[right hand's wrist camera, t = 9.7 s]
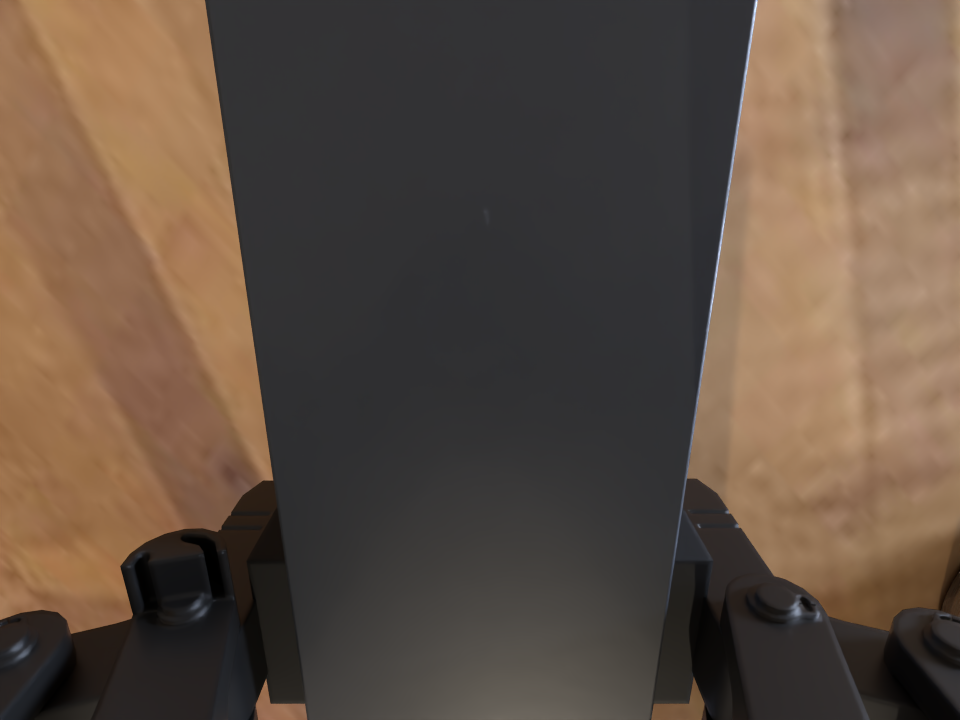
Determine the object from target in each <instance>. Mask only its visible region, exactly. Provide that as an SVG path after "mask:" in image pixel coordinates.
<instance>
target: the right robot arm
mask: <svg viewBox="0 0 960 720" xmlns="http://www.w3.org/2000/svg"><path fill="white" fill-rule="evenodd" d="M120 567H121V571H122V575H123V578H124V582H125V586H126V590H127V594H128V597H129V601H130V605H131V609H132V612H133V617H132V619H130V620H126V621H123V622H120V623H116V624H112V625H108V626H104V627H99V628H95V629H91V630H86V631H82V632H78V633H73V634H71V633H70V630H69V627H68V624H67V620H66V619H65V618H63V617H62V616H61V615H60V614H59V613H58V612H51V611H45V610H38V611H31V612H24V613H20V614H17V615H14V616H11V617H7V618H5V619H2V620H0V720H258V716H257V711H256V702H257V700H258V697H259V695H260V692H261V690H262V687H263V685H264V682H265V680H266V679H267V685H268V691H269V697H270V703H271V704H305V698H304V691H303V684H302V677H301V670H300V663H299V656H298V649H297V642H296V635H295V628H294V621H293V614H292V607H291V600H290V593H289V586H288V579H287V572H286V565H285V558H284V551H283V544H282V537H281V530H280V523H279V516H278V509H277V502H276V495H275V488H274V481H262V482H261V483H259V484H258V485H257V486H255V487H254V488H252V489H251V490H250V491H248V492H247V493H245V494H244V495H243V496H242V497H241V499H240V500H239V502H238V503H237V505H236V506H235V508H234V509H233V511H232V512H231V516H228V518H227V519H226V521H225V522H224V524H223V525H222V529H221V530H219V531H218V532H215V531H211V530H207V529H203V528H201V529H183V530H179V531H175V532H171V533H167V534H164V535H161V536H159V537H157V538H155V539H152V540H150V541H148V542H146V543H144V544H143V545H142V546H140V547H139V548H137V549H136V550H135V551H133V552H132V553H131V554H130V555H129V556H128V557H127V559H126V560H125V561H124V562H123V564H122V565H121V566H120ZM693 677H694V678H695V680H696V683H697V685H698V688H699V690H700V693H701V695H702V698H703V700H704V703H705V705H704V711H703V716H702V720H960V572H959V573H958V575H957V576H956V578H955V579H954V581H953V583H952V584H951V586H950V588H949V590H948V592H947V595H946V597H945V600H944V602H943V606H942V609H941V611H940V610H933V609H926V608H919V607H918V608H912V609H905V610H902V611H901V612H900V613H899V614H897V615H896V616H895V617H894V619H893V622H892V625H891V628H890V631H884V630H880V629H876V628H871V627H867V626H863V625H858V624H854V623H850V622H845V621H842V620H838V619H835V618H832V617H828V616H827V614H826V612H825V611H824V609H823V608H822V606H821V605H820V603H819V602H818V600H816V599H815V598H814V597H813V596H812V595H810V594H809V593H808V592H807V591H805V590H804V589H803V588H801V587H799V586H797V585H795V584H793V583H791V582H789V581H787V580H785V579H782V578H779V577H775V576H774V575H773V574H772V573H771V571H770V570H769V568H768V567H767V565H766V564H765V562H764V561H763V559H762V558H761V557H760V555H759V554H758V552H757V551H756V549H755V548H754V546H753V545H752V544H751V542H750V541H749V539H748V538H747V536H746V535H745V533H744V532H743V530H742V529H741V528H739V527H738V523H737V522H736V520H735V519H734V517H733V516H732V515H731V514H729V510H728V509H727V507H726V506H725V504H724V503H723V501H722V500H721V499H720V497H719V496H718V494H717V493H716V492H714V491H713V490H711V489H710V488H709V487H707V486H706V485H704V484H703V483H702V482H700V481H699V480H697V479H687V480H686V487H685V494H684V501H683V507H682V514H681V521H680V528H679V534H678V541H677V548H676V555H675V561H674V568H673V575H672V582H671V588H670V595H669V602H668V609H667V616H666V622H665V629H664V636H663V643H662V649H661V656H660V663H659V670H658V676H657V683H656V690H655V697H654V703H653V704H689V700H690V695H691V689H692V683H693Z"/></svg>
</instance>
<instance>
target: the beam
mask: <svg viewBox="0 0 960 720" xmlns="http://www.w3.org/2000/svg"><path fill="white" fill-rule="evenodd" d="M205 3H206V10H207V17H208V24H209V31H210V38H211V45H212V52H213V59H214V66H215V73H216V80H217V87H218V94H219V101H220V108H221V115H222V122H223V129H224V136H225V143H226V150H227V157H228V164H229V171H230V178H231V185H232V192H233V199H234V206H235V214H236V221H237V228H238V235H239V242H240V249H241V256H242V263H243V270H244V277H245V284H246V291H247V298H248V305H249V312H250V319H251V326H252V333H253V340H254V347H255V354H256V361H257V368H258V375H259V382H260V389H261V396H262V403H263V410H264V417H265V424H266V431H267V438H268V445H269V452H270V459H271V467H272V474H273V481H274V488H275V495H276V502H277V509H278V516H279V523H280V530H281V537H282V544H283V551H284V558H285V565H286V572H287V579H288V586H289V593H290V600H291V607H292V614H293V621H294V628H295V635H296V642H297V649H298V656H299V663H300V670H301V677H302V684H303V691H304V698H305V705H306V712H307V720H651V717H652V710H653V703H654V697H655V690H656V683H657V676H658V670H659V663H660V656H661V649H662V643H663V636H664V629H665V622H666V616H667V609H668V602H669V595H670V588H671V582H672V575H673V568H674V561H675V555H676V548H677V541H678V534H679V528H680V521H681V514H682V507H683V501H684V494H685V487H686V480H687V474H688V467H689V460H690V453H691V447H692V440H693V433H694V426H695V419H696V413H697V406H698V399H699V392H700V386H701V379H702V372H703V365H704V359H705V352H706V345H707V338H708V332H709V325H710V318H711V311H712V305H713V298H714V291H715V284H716V278H717V271H718V264H719V257H720V251H721V244H722V237H723V230H724V223H725V217H726V210H727V203H728V196H729V190H730V183H731V176H732V169H733V163H734V156H735V149H736V142H737V136H738V129H739V122H740V115H741V109H742V102H743V95H744V88H745V82H746V75H747V68H748V61H749V54H750V48H751V41H752V34H753V27H754V21H755V14H756V7H757V0H205Z"/></svg>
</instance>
